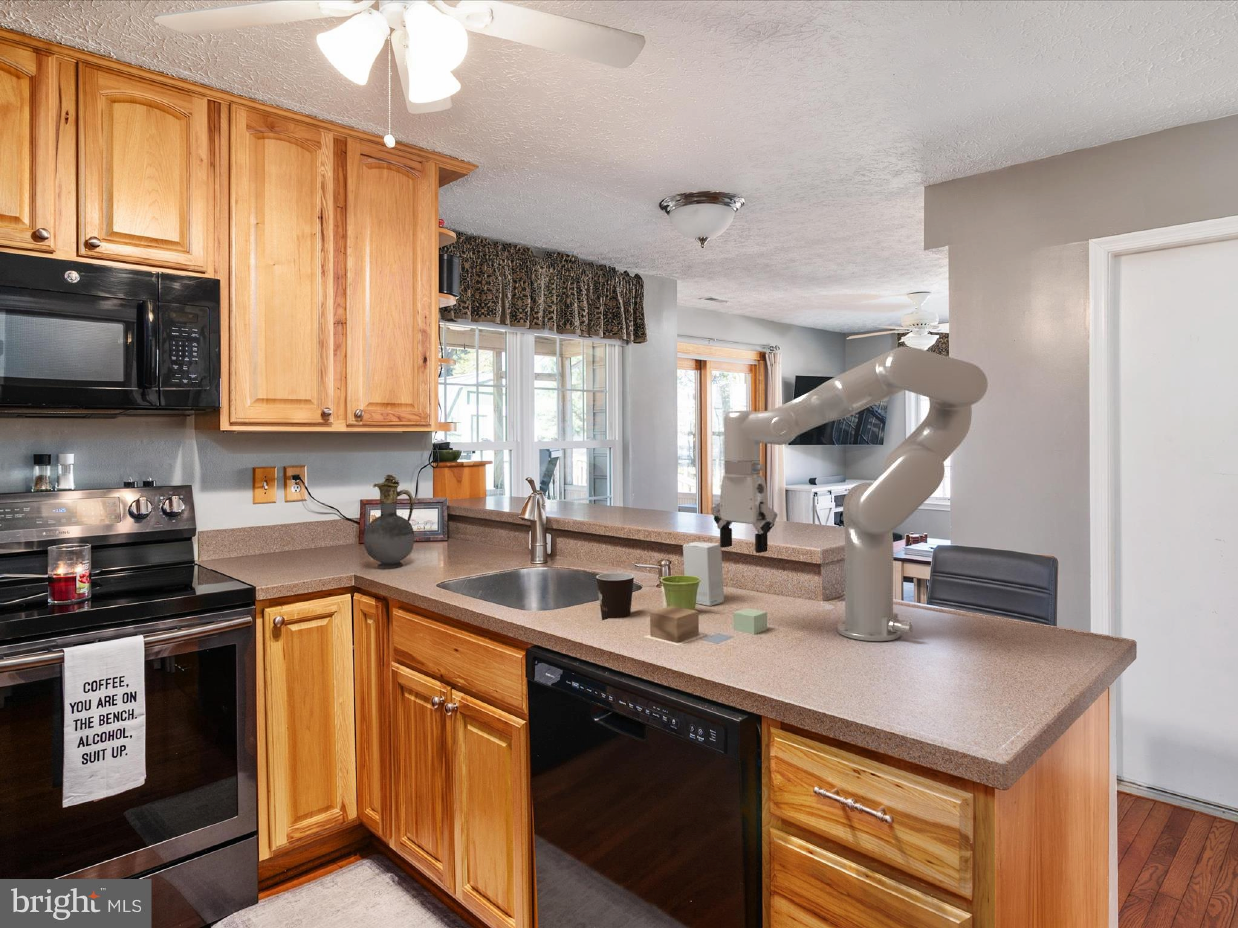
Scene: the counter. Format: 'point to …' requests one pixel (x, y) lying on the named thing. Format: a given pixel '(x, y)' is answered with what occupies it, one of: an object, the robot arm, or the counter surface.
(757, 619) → the sage cube
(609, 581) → the coffee mug
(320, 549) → the counter surface
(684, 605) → the plant pot
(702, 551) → the skincare box
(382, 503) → the pitcher
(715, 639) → the blueprint board
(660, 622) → the walnut block
